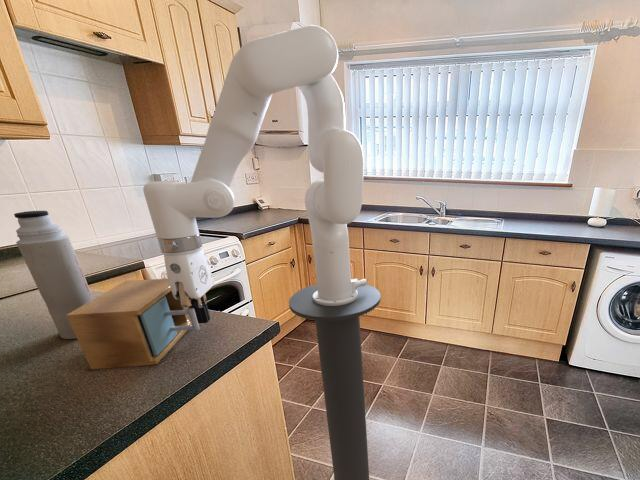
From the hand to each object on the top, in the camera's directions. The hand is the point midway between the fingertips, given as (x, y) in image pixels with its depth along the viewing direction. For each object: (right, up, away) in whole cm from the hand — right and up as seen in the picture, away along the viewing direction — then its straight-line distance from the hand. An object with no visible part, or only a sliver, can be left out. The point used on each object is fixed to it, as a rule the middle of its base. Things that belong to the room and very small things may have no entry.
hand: (202, 321), depth 78 cm
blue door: (-2, -4, -5) cm, 7 cm away
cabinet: (-10, -5, -3) cm, 12 cm away
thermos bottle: (-30, -3, +3) cm, 31 cm away
